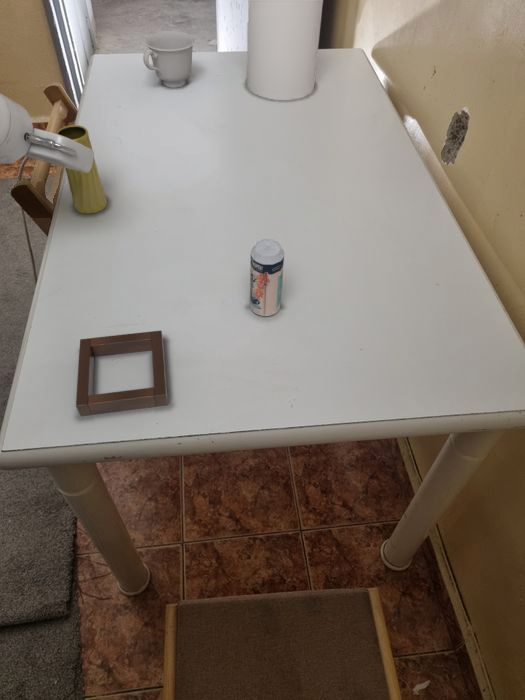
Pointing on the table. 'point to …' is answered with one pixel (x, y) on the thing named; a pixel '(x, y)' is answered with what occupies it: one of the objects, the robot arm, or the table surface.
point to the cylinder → (282, 47)
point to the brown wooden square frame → (122, 399)
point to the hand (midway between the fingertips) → (59, 158)
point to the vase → (84, 176)
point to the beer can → (266, 277)
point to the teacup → (170, 56)
